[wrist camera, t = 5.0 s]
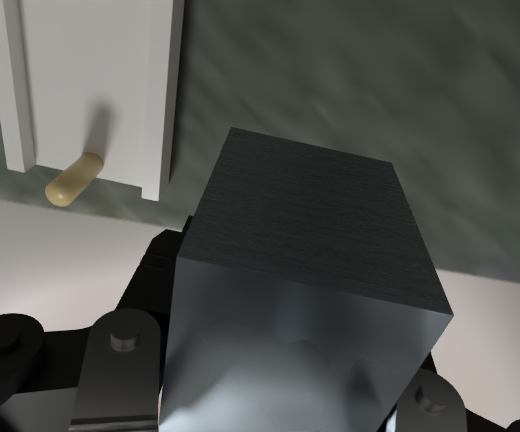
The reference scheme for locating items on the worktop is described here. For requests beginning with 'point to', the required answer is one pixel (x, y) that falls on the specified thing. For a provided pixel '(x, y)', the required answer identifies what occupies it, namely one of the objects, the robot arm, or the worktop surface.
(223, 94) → the worktop surface
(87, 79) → the white peg stand
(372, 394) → the block
